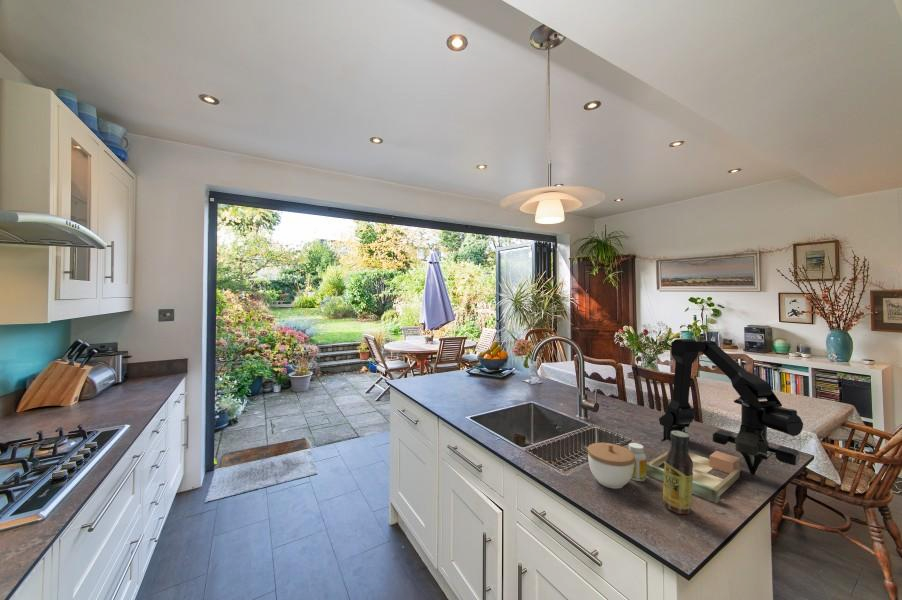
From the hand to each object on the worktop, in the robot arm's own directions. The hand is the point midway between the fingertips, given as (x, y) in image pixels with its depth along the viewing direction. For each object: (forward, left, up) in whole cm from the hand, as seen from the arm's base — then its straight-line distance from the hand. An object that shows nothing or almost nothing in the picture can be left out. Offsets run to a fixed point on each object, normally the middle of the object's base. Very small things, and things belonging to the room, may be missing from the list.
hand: (753, 474), depth 101 cm
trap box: (-11, -9, -2) cm, 15 cm away
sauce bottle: (-7, -33, -2) cm, 34 cm away
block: (-7, 0, -1) cm, 7 cm away
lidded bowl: (-24, -35, -2) cm, 43 cm away
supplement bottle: (-21, -26, -2) cm, 34 cm away
